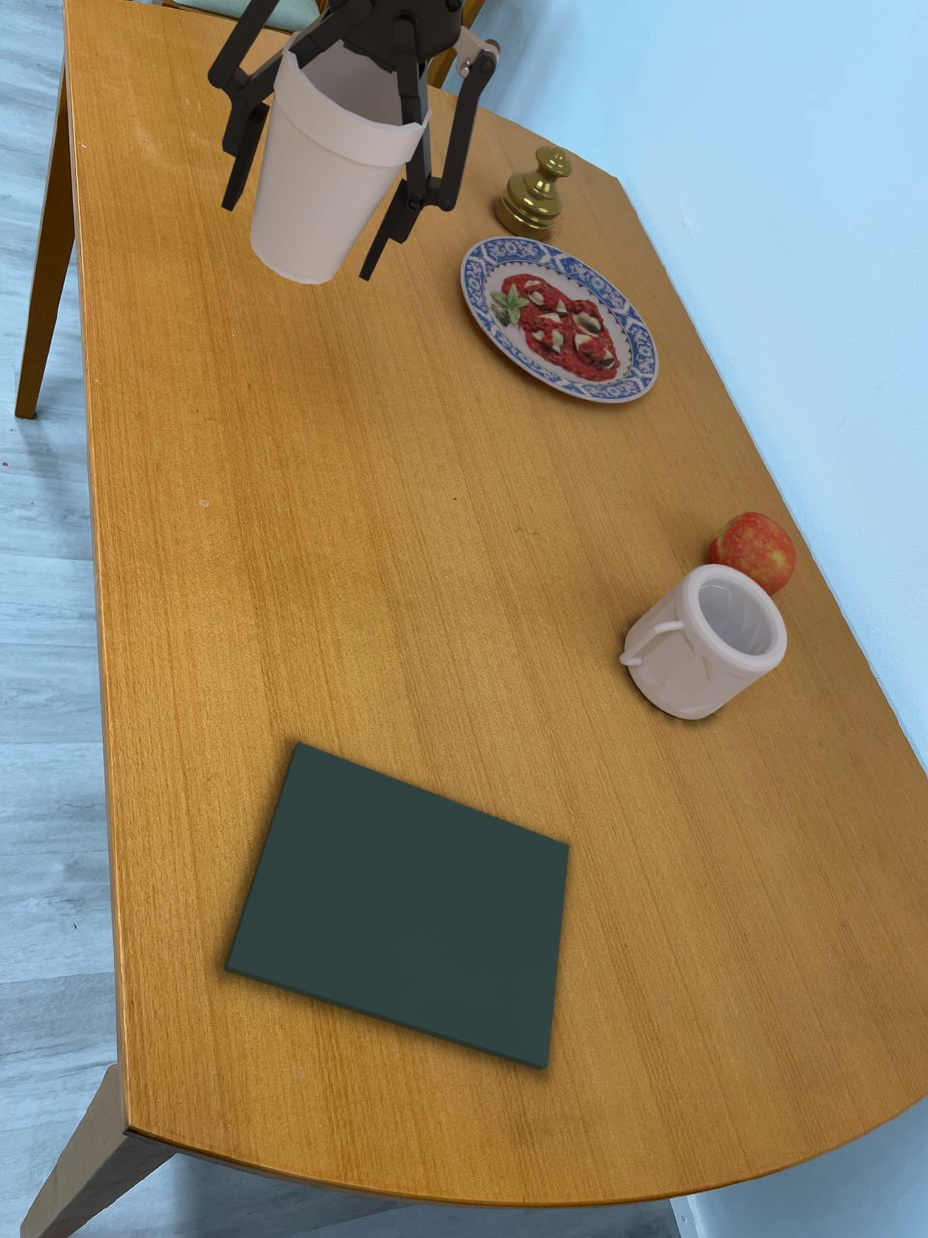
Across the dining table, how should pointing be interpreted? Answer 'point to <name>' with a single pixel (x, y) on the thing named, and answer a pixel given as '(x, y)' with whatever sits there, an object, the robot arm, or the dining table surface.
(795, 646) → the dining table surface
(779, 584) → the apple
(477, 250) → the ceramic plate
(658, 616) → the mug
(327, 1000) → the mat
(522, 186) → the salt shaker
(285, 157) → the foam cup
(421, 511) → the dining table surface
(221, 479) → the dining table surface
